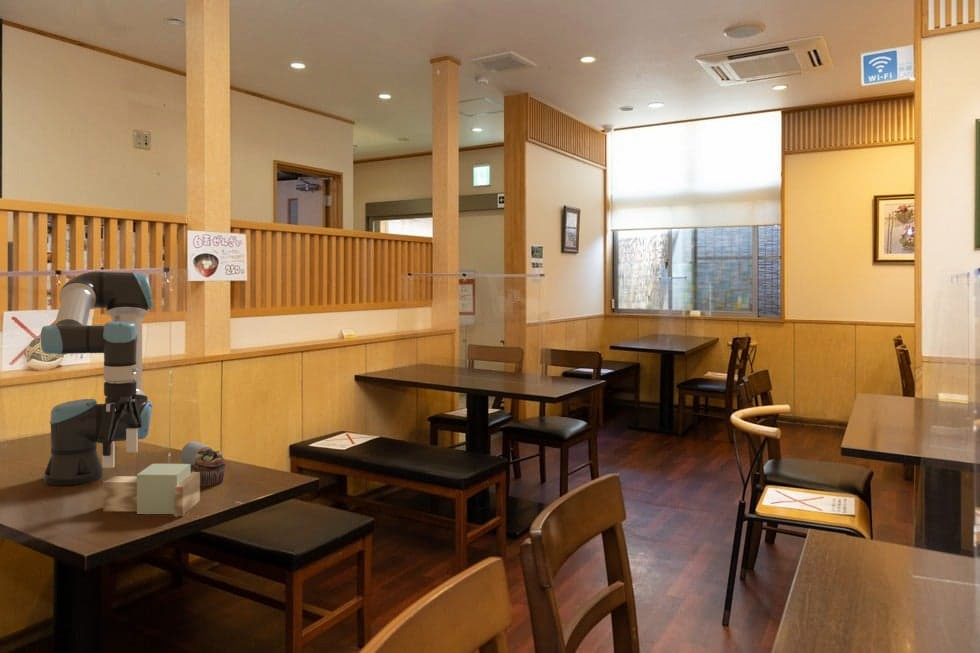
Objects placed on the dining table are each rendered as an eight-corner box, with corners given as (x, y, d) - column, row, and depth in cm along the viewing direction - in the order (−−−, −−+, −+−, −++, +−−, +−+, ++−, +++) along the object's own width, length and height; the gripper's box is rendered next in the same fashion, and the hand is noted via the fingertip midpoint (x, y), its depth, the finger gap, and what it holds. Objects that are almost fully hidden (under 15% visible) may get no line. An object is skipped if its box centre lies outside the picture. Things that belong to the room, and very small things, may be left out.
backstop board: (174, 517, 172) (174, 486, 172) (192, 500, 185) (192, 471, 185) (182, 517, 172) (182, 487, 172) (199, 500, 185) (199, 472, 185)
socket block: (136, 514, 173) (136, 474, 172) (152, 501, 183) (152, 463, 182) (176, 514, 174) (176, 474, 173) (190, 501, 184) (190, 464, 183)
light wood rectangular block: (103, 511, 174) (103, 482, 174) (112, 505, 179) (112, 476, 179) (166, 512, 176) (166, 482, 175) (174, 505, 181) (173, 476, 180)
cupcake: (232, 479, 204) (232, 447, 203) (212, 489, 195) (212, 455, 194) (205, 476, 206) (205, 444, 205) (184, 485, 197) (184, 452, 196)
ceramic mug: (196, 471, 211) (197, 447, 211) (180, 466, 215) (180, 443, 215) (224, 464, 221) (225, 441, 220) (208, 459, 225) (208, 437, 224)
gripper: (112, 390, 162) (113, 474, 165) (154, 372, 187) (154, 446, 189) (80, 389, 162) (81, 474, 164) (126, 371, 186) (127, 445, 189)
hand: (120, 459), depth 177 cm, fingers open, 13 cm apart
